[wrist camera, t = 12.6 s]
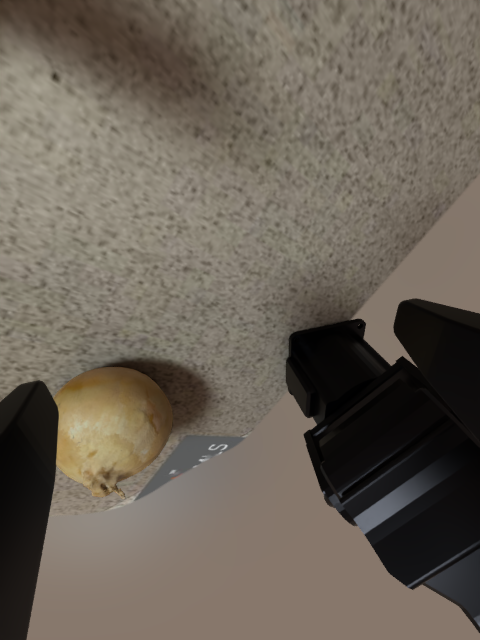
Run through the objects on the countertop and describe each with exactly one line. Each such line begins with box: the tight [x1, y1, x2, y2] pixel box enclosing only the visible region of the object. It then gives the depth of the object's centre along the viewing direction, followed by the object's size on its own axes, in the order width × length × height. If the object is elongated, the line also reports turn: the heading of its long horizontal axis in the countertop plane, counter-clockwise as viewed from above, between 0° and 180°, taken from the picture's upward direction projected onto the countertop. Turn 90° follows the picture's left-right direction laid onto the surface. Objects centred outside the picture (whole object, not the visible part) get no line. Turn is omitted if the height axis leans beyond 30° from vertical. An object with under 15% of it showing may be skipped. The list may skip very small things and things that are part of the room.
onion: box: [53, 367, 173, 499], centre depth 21 cm, size 8×8×7 cm
